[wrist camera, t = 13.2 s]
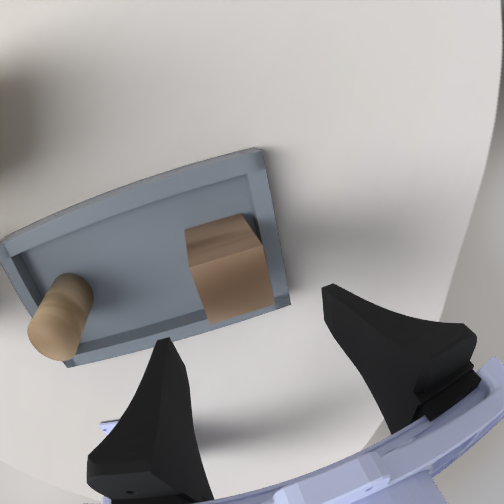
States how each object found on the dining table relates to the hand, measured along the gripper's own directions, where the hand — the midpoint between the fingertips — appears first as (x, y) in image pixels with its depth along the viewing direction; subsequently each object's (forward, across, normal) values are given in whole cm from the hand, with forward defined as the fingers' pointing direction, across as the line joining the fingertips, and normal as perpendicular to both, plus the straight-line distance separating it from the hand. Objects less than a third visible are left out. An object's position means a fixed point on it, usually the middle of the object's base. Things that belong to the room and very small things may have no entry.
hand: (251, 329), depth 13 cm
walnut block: (+9, 0, 0) cm, 9 cm away
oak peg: (+9, +12, 0) cm, 15 cm away
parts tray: (+10, +6, 0) cm, 12 cm away
